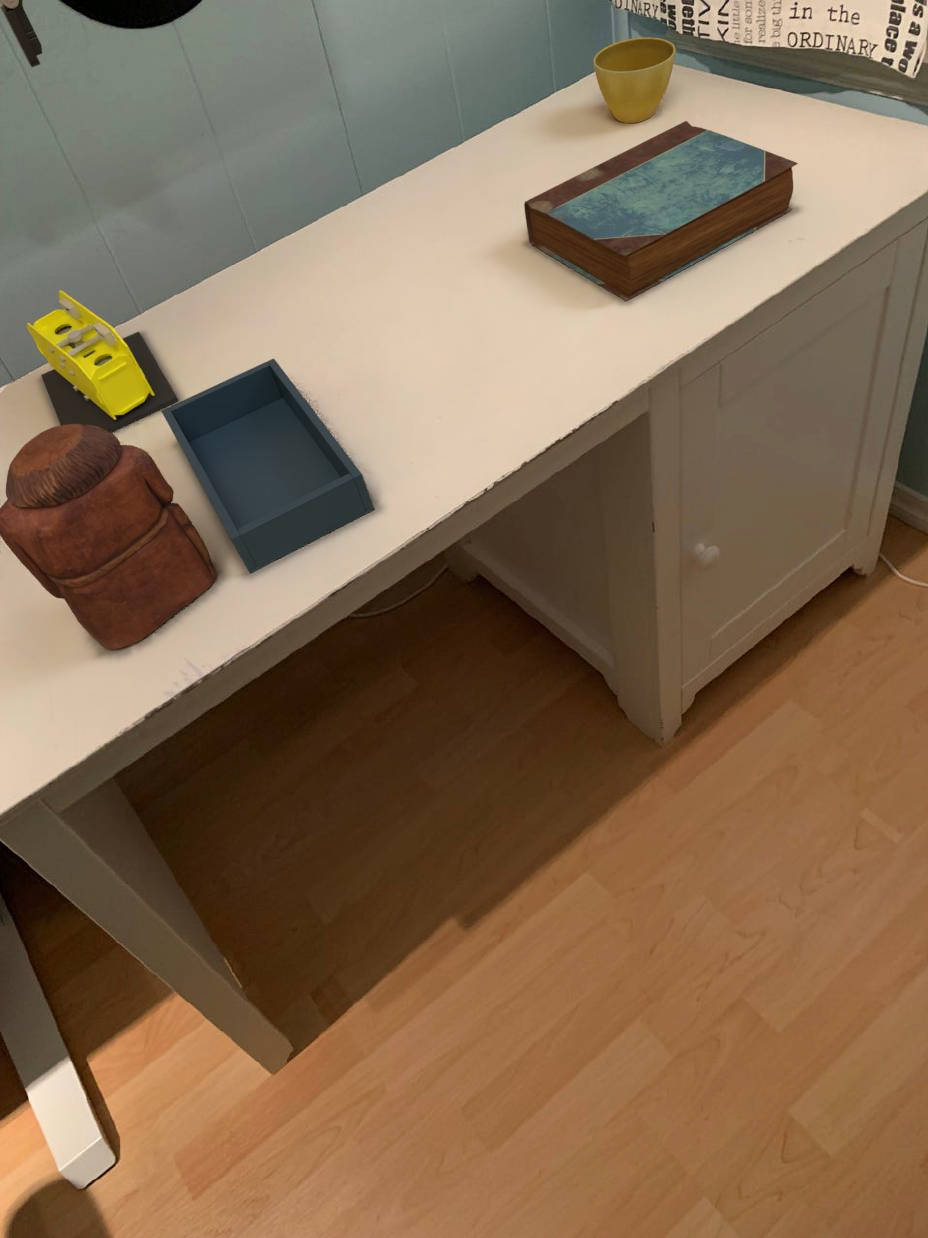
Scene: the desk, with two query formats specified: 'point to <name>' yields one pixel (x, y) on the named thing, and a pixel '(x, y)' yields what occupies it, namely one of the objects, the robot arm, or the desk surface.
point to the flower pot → (634, 76)
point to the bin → (267, 464)
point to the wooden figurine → (103, 532)
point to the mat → (81, 411)
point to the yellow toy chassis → (91, 357)
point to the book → (659, 207)
